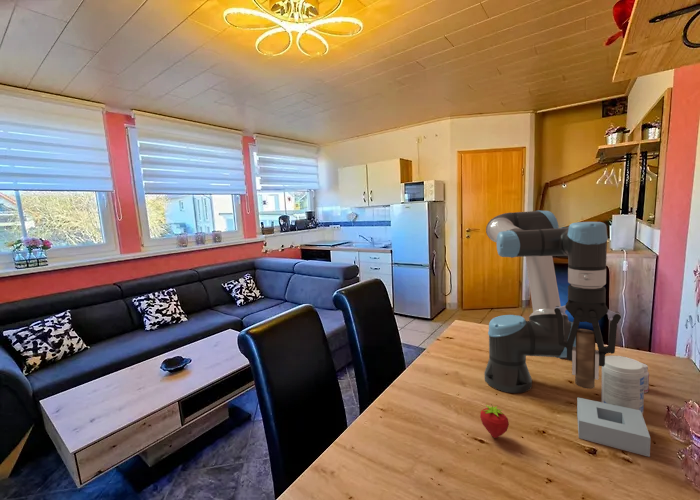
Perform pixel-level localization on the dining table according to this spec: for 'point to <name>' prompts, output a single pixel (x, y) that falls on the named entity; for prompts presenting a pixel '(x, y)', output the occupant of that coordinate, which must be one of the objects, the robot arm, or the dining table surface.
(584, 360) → the dowel
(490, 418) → the strawberry
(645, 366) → the pill bottle
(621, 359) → the supplement tub
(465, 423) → the dining table surface
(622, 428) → the socket block
